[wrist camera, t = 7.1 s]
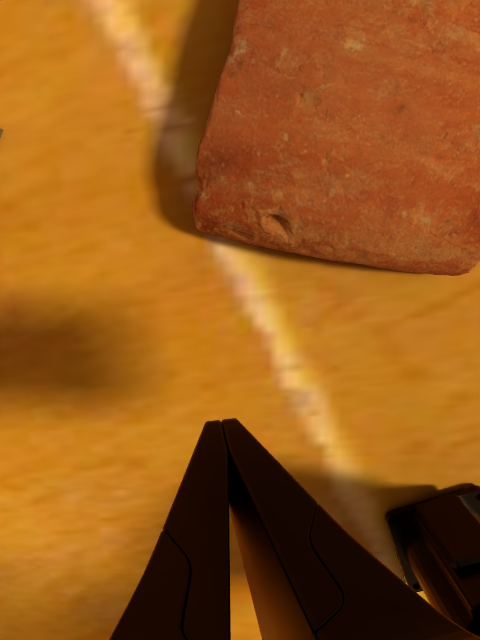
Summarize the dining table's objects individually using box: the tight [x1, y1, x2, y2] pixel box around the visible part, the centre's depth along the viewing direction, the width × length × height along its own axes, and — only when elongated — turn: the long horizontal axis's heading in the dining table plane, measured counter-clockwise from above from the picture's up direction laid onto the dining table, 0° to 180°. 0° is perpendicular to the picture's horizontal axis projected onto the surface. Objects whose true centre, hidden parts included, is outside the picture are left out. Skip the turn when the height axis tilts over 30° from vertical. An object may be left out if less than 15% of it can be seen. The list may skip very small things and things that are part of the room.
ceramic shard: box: [192, 0, 480, 276], centre depth 15 cm, size 15×6×15 cm
